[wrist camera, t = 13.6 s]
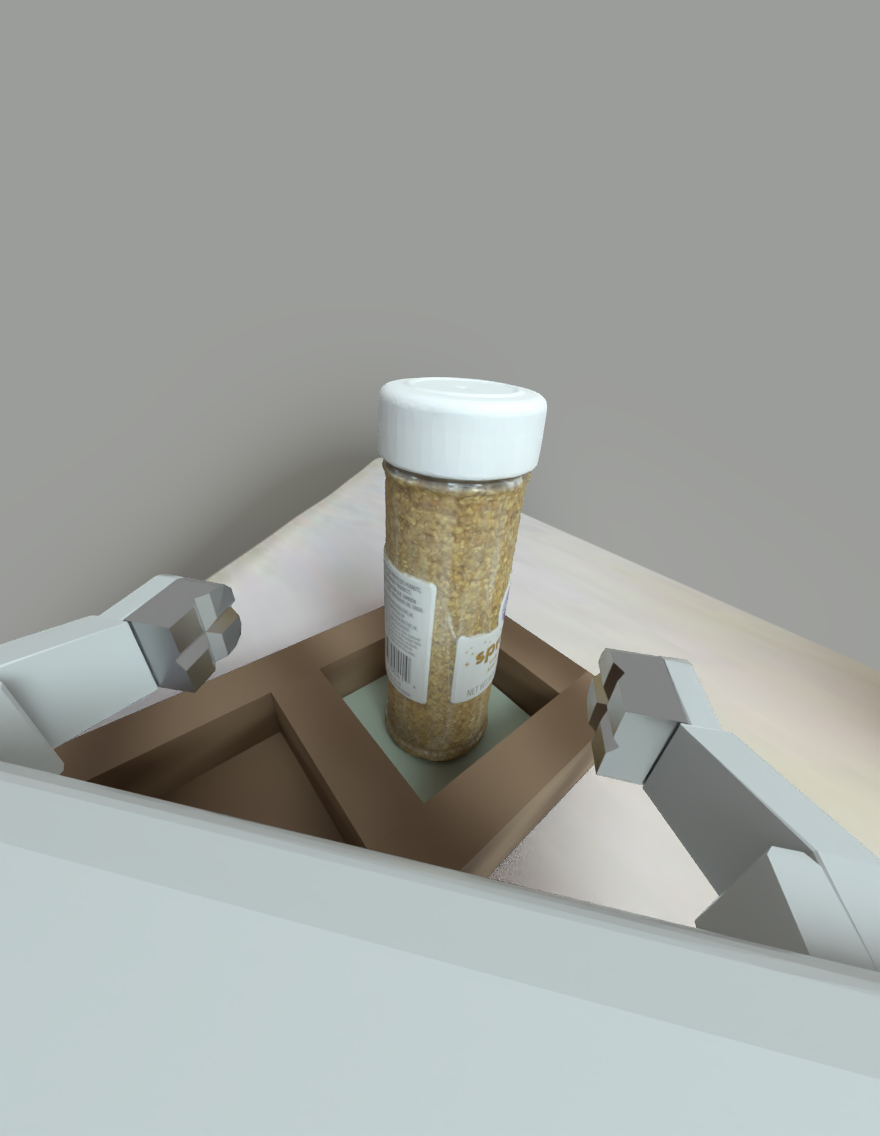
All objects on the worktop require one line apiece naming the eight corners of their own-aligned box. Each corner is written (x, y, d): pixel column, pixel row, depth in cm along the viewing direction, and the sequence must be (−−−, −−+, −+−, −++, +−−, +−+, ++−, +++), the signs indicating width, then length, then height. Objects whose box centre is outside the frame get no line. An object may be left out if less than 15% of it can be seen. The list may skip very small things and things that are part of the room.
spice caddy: (-44, 1440, 7) (-184, 1510, 5) (-10, 847, 13) (-64, 797, 12) (610, 746, 18) (631, 700, 16) (446, 618, 25) (449, 577, 23)
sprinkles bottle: (499, 759, 16) (581, 404, 9) (384, 771, 16) (379, 395, 9) (474, 674, 20) (518, 377, 13) (381, 681, 19) (375, 369, 12)
